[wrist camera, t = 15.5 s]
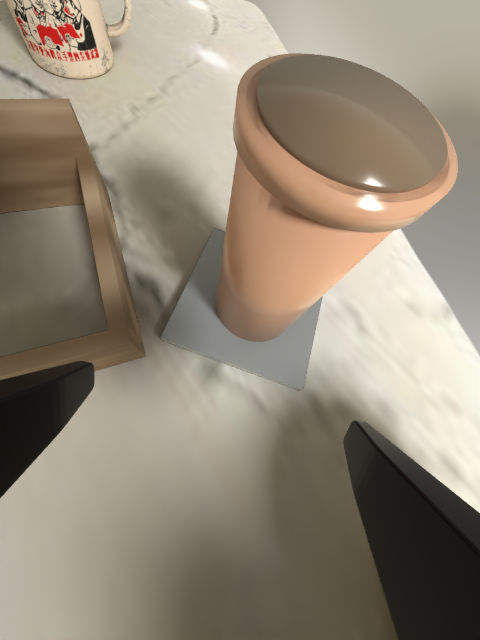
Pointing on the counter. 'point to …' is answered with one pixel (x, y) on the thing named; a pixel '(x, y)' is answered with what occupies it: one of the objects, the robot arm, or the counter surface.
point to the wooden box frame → (60, 190)
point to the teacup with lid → (68, 35)
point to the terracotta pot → (319, 183)
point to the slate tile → (221, 345)
